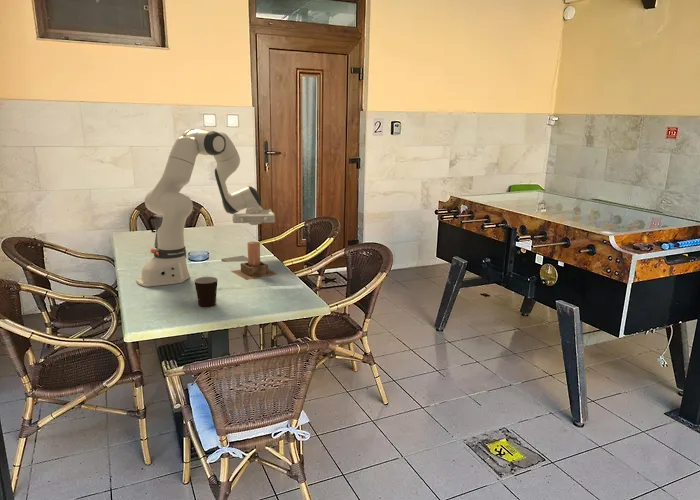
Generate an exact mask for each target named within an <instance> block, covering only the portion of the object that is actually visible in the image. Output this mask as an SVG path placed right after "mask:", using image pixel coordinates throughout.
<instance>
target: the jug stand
mask: <svg viewBox="0 0 700 500" xmlns="http://www.w3.org/2000/svg"><path fill="white" fill-rule="evenodd" d="M230 272H232V273H233V274H235V275H237V276H238V277H240V278H242V279H244V280H246V281H248V280H255V279H260V278H265V277H270V276H271V277H272V276H275V275H276V276H277V275H278V273H277V272H276V271H273V270H271V269H269V264H267V263H265V262H263V261H261V260H260V266H255V267H249V266H248V261H246V262H241V263H240V269H237V270H230Z"/></svg>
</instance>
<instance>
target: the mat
mask: <svg viewBox="0 0 700 500" xmlns="http://www.w3.org/2000/svg"><path fill="white" fill-rule="evenodd" d="M221 261H222V262H224V263H232V262H234V263H235V262H236V263H237V262H248V256H245V255H238V256H231V257H230V256H229V257H225V258H221Z"/></svg>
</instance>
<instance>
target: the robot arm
mask: <svg viewBox="0 0 700 500" xmlns="http://www.w3.org/2000/svg"><path fill="white" fill-rule="evenodd" d="M198 155H203V156H213V157H214V160H215V163H216V166H215V168H214V177H215V180H216V184H217V187H218V191H219V194H220V197H221V202H222V203H221V204H222V207H223V209H224V211H225V213H227V214H229V215H232V223H233V224H249V225H250V226H257V225H262V224H267V223H270V224H272V223H275V222H276V215H275V213H274V212H273V211H272V209H271V208H262V206H261V205H262V199H261V197H260V194H259V192H258V191H257V190H256V188H254V187H252V186H250V185H249V186H246V187H244V188H241V189H239V190H236V191H234V192H231V193H230V192H229V191H228V187H227V184H226V182H227V180H228V178H230V176H231V175H232V174H234V173H235V172H236V171H237V169H238V168H239V166H240V164H241V158H240V155H239V152H238V150H237V148H236V145H235V144H234V142H233V141H232V140H231V138H230V137H229V135H228V134H226V133H225V132H217V131H215V130H209V129H208V130H206V129H199V128H198V129H194V128H193V129H192V128H191V129H188V130H186V131H184V132H183V134H182V136H179V137H178V138H177V139H176V140H175V142H174V143H173V145H172V147H171V150H170V152H169V155H168V158H167V161H166V165H165V167H164V170H163V173H162V175H161V177H160V179H159V180H158V182H157V184H156V185H155V187H154V188H153V189H152V190H150V191H149V192H148V193H147V194H146V196H145V197H144V205H145V208H146V209H147V210H148V211H150V212H152V214H154V215H157V214H158V215H162V216H163V221H162V225H161V227H160V228H159V229H158V230H157V238H158V247H156V249H155V247H154V248H150V253H151V254H153V257H152V258H151V259H150V260H149V261H148V262H147V263H145V264H144V265H143V266H142V268H141V275H140V276H138V277H136V278H135V279H136V283H137V284H139V285H140V286H142V287H145V288H146V287H148V288H149V287H150V288H151V287H158V286H165V285H174V284H182V283H184V282H185V281H186V280H189V279H190V277H191V276H190V275H191V274H190V272H189V269H188V263H187V249H186V246H185V225H186V221H187V219H188V217H189V216H190V215H191V213H192V212H193V209H194V204H193V201H192V199H191V198H190V197H189V196H187V195H186V194H184V193H181V190H182V189H183V188H184V187H185V186H186V185H188V184H189V183H190V181H191V177H192V174H193V170H194V167H195V164H196V161H197V160H196V159H197V156H198ZM243 210H245V212H243V213H242V212H240V211H243ZM239 212H240V213H239Z"/></svg>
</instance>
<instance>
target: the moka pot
mask: <svg viewBox="0 0 700 500" xmlns="http://www.w3.org/2000/svg"><path fill="white" fill-rule="evenodd" d="M151 220H153V221H154V228H155V230H154V229H153V226H152V222H151ZM162 221H163V216H162V215H158V214H153V215H150V217H148V219H147V223H148V225H149V228H150V231H151V233H155V238H154V248H158V238H157V230H158V229H159V228H160V227H161V225H162Z"/></svg>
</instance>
